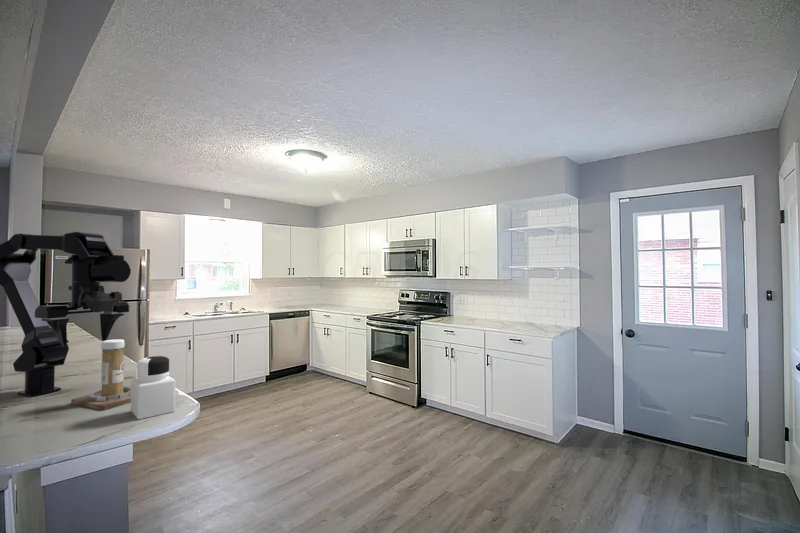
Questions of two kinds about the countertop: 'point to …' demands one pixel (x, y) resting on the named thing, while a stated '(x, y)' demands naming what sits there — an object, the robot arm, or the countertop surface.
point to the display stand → (103, 399)
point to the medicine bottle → (152, 388)
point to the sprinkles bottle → (112, 367)
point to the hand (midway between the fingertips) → (85, 343)
